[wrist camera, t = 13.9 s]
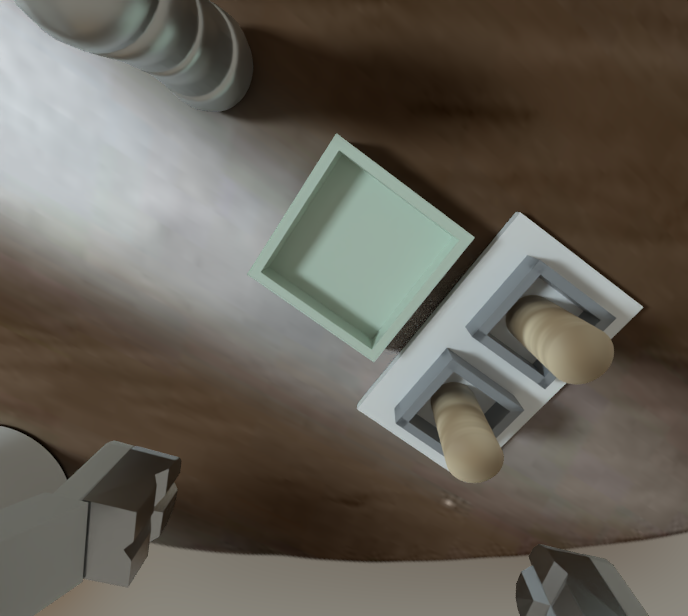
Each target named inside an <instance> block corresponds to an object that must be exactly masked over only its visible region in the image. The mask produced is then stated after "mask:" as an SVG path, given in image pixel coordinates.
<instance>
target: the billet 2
mask: <svg viewBox="0 0 688 616" xmlns="http://www.w3.org/2000/svg"><path fill="white" fill-rule="evenodd" d="M506 326H507V328H508V330H509V332H510V333H511V334H512V335H513V336H514V337H515V338H516V339H517V340H518V341H519V342H520V343H521V344H522V345H523V346H524V347H525V348H526V349H527V350H529V351H530V352H531V353H532V354H533V355H534V356H535V357H536V358H537V359H538V360H539V361H540V362H541V363H542V364H543V365H544V366H545V367H546V368H547V369H548V370H549V371H550V372H551V373H552V374H553V375H554V376H555V377H556V378H558V379H559V380H561V381H563V382H565V383H569V384H584V383H588V382H591V381H593V380H595V379H597V378H599V377H600V376H601V375H603V374H604V373H605V372H606V371H607V369H608V368H609V366H610V365H611V363H612V360H613V356H614V347H613V343H612V341H611V339H610V338H609V336H608V335H607V334H606V333H604V332H603V331H602V330H600V329H598V328H596V327H595V326H593V325H591V324H589V323H588V322H586V321H584V320H582V319H581V318H579V317H577V316H575V315H574V314H572V313H570V312H568V311H567V310H565V309H563V308H561V307H560V306H558V305H556V304H555V303H553V302H551V301H549V300H548V299H546V298H544V297H542V296H538V295H528V296H524V297H522V298H520V299H518V300H517V302H516V303H515V304H514V305H513V306H512V307H511V308H510V309H509V310H508V312H507V314H506Z"/></svg>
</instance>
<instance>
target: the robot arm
mask: <svg viewBox="0 0 688 616" xmlns="http://www.w3.org/2000/svg"><path fill="white" fill-rule="evenodd" d="M180 469H181V459H180V458H179V457H176V456H172V455H168V454H164V453H161V452H157V451H153V450H149V449H146V448H142V447H138V446H132V445H129V444H125V443H121V442H118V441H111V442H109V443H107V444H105V445H104V446H103V447H102V448H101V449H100V450H99V451H98V452H97V453H96V454H95V455H94V456H93V457H91V458H90V459H89V460H88V461H87V462H86V463H85V464H84V465H83V466H82V467H81V468H80V469H79V470H77V471H76V472H75V473H74V474H73V475H72V476H71V477H70V478H69V479H68V480H67V479H66V477H65V474H64V472H63V470H62V469H61V467H60V465H59V464H58V463H57V461H56V460H55V459H54V457H53V456H52V455H51V454H50V453H49V452H48V451H47V450H46V449H45V448H44V447H43V446H41V445H40V444H39V443H38V442H36V441H35V440H33V439H32V438H30V437H28V436H27V435H25V434H23V433H21V432H18V431H16V430H13V429H10V428H7V427H3V426H0V616H34V615H35V614H37V613H38V612H40V611H41V610H42V609H44V608H45V607H47V606H48V605H50V604H51V603H53V602H54V601H56V600H57V599H58V598H60V597H61V596H63V595H64V594H66V593H67V592H69V591H70V590H71V589H73V588H74V587H76V586H77V585H79V584H80V583H81V582H82V581H83V579H88V580H92V581H98V582H103V583H108V584H113V585H117V586H123V587H128V586H129V585H130V583H131V582H132V580H133V579H134V577H135V575H136V574H137V572H138V570H139V569H140V567H141V565H142V564H143V562H144V561H145V559H146V558H147V556H148V549H149V542H151V541H153V540H154V539H156V538H158V537H159V536H160V535H161V533H162V531H163V530H164V528H165V526H166V524H167V522H168V520H169V518H170V515H171V513H172V511H173V508H174V504H175V501H176V496H177V490H178V489H177V488H176V486H175V484H174V481H175V480H176V478H177V477H178V475H179V474H180ZM529 559H530V562H531V565H532V566H530V567H528V568H527V569H525V570H523V571H522V572H521V574H520V576H519V578H518V581H517V583H516V602H517V607H518V611H519V614H520V616H649V615H648V614H647V612H646V611H645V609H644V608H643V607H642V605H641V604H640V602H639V601H638V600H637V598H636V597H635V595H634V594H633V592H632V591H631V589H630V588H629V587H628V585H627V584H626V582H625V581H624V580H623V578H622V577H621V575H620V574H619V573H618V571H617V570H616V568H615V567H614V565H613V564H611V563H610V562H609V561H608V560H606V559H604V558H599V557H595V556H590V555H586V554H579V553H575V552H571V551H567V550H563V549H558V548H554V547H550V546H545V545H541V544H538V545H537V546H535V547H534V548H533V549H532V551H531V553H530V555H529Z"/></svg>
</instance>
